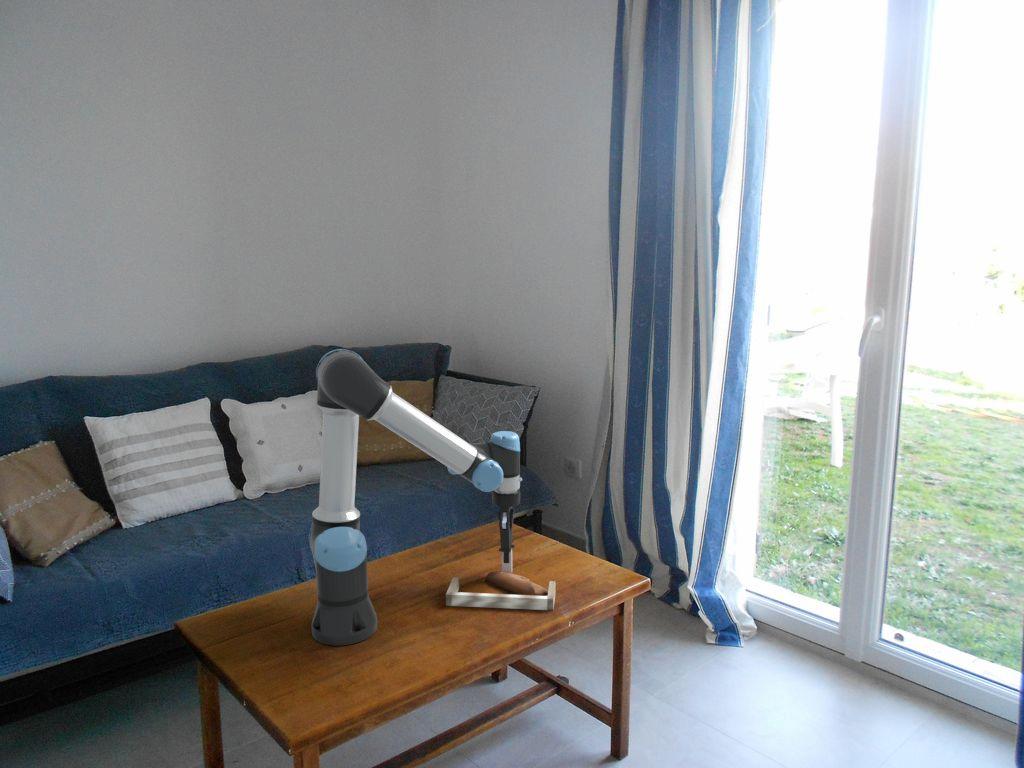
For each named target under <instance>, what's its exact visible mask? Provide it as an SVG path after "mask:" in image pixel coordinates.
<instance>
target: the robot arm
mask: <svg viewBox="0 0 1024 768" xmlns="http://www.w3.org/2000/svg"><path fill="white" fill-rule="evenodd" d="M315 376H316V380H317V397H316V407H318V408H319V409H320V410H321V411H322V430H321V448H320V449H321V450H320V452H321V453H320V456H321V457H320V475H319V476H320V477H319V494H318V495H319V496H318V498H319V499H318V507H316V508H315V509H314V510H313V511H312V514H311V527H310V531H309V533H308V542H309V547H310V550H311V554H312V557H313V562H314V566H315V567H314V568H315V575H316V576H315V577H316V591H317V593H316V594H317V602H316V603H317V604H316V607H315V611H314V615H313V618H312V620H311V621H312V622H311V636H312V637H313V639H314V640H315V641H316V642H318V643H320V644H323V645H328V646H339V647H340V646H341V647H342V646H349V645H353V644H358V643H360V642H363V641H365V640H367V639H368V638H370V637H372V636H373V635H374V633H375V632H376V631H377V629H378V617H377V613H376V611H375V608H374V605H373V603H372V601H371V599H370V596H369V578H368V561H367V560H368V559H367V553H368V552H367V551H368V545H367V542H366V537H365V536H364V535H365V534H363V533H362V531H360V526H361V525H360V524H361V523H360V520H361V512H360V511H359V510H358V509H357V507H355V501H356V500H355V497H356V483H357V482H356V480H357V461H358V446H359V445H358V443H359V426H360V417H361V418H363V419H365V420H366V421H373V420H374V421H376V422H378V423H379V424H380V425H382V426H384V427H385V428H387V429H388V430H390V431H391V432H393V434H394V433H395V434H396V435H398V436H399V437H401V438H402V439H404V440H405V441H407V442H408V443H410V444H412V445H413V446H415V447H416V448H418V449H420V451H423V452H424V453H425V454H426V455H428V456H430V457H432V458H434V459H435V460H436V461H438V462H440V463H441V464H443V465H444V466H445V467H446V468H447V471H448V473H449V474H451V475H459V476H461V477H462V478H464V479H465V480H467V481H468V482H470V484H471V483H472V484H473V486H474V487H475V488H476V489H478V490H479V491H481V492H483V493H484V492H485V493H490V492H491V501H492V505H493V506H496V507H499V511H498V513H497V514H498V516H497V517H498V519H499V521H498V526H499V540H500V548H498V552H501V572H506V573H512V574H513V549H515V546H516V544H513V543H514V540H513V529H514V526H513V524H514V516H515V508H514V507H516V506H518V505H520V503H521V490H520V487H521V482H522V481H523V478H522V477H521V475H520V474H521V470H520V469H521V466H520V465H521V442H520V437H519V435H518V433H516V432H515V431H510V430H509V431H508V430H502V431H501V430H500V431H497V432H493V433H492V434H491V435H490V441H485V442H476V443H475V442H474V443H469V442H467V441H466V440H464V439H463V438H461V437H460V436H458V435H457V434H456V433H454V432H452V431H451V430H450V429H448V428H446V427H445V426H443V425H442V424H441V423H439V422H438V421H436V420H435V419H433V418H432V417H430V416H429V415H427V414H426V413H425V412H423V411H421V410H420V409H418V408H417V407H416V406H414V405H412V404H411V403H410V402H408V401H406V400H405V399H404V398H402V397H401V396H399V395H397V394H396V393H395V392H394V391H393V387H392V386H391V384H389V383H388V382H386V381H385V380H383V378H381V377H380V376H379V375H378V374H377V373H376V372H375V371H374V370H373V369H372V368H371V367H370V366H369V364H367V362H366V361H364V359H363V357H361V356H360V354H358V353H356V352H355V351H353V350H350V349H349V350H348V349H345V348H340V349H339V348H338V349H334V350H330V351H329V352H327V353H326V354H324V355H323V356H322V357H321V359H320V360H319V362H318V364H317V366H316V369H315Z"/></svg>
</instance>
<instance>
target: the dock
mask: <svg viewBox="0 0 1024 768" xmlns="http://www.w3.org/2000/svg"><path fill="white" fill-rule="evenodd" d="M556 587H557V586H556V581H555V580H554V581H553V580H549V584H548V589H547V590H548V595H546V596H534V595H515V594H512V593H510V594H507V593H489V592H487V593H485V592H483V593H482V592H481V593H480V592H461V591H460V592H459V589H460V578H459V576H452V579H451V582H450V583H449V586H448V589H447V591H446V592H445V606H447V607H449V606H450V607H469V608H472V607H473V608H493V609H494V608H495V609H513V610H515V609H516V610H518V609H519V610H537V611H539V610H540V611H554V609H555V608H554V607H555V600H556V599H555V598H556Z"/></svg>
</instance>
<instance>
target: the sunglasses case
mask: <svg viewBox="0 0 1024 768" xmlns="http://www.w3.org/2000/svg"><path fill="white" fill-rule="evenodd" d="M484 581H485V583H487V584H489V585H491V586H493V587H497V588H499V589H501V590H504V591H506V592H509V593H510V594H512V595H534V596H548V590H549V589H548V588H547V589H546V588H544V587H543V586H541V585H539V584H537V583H535V582H533V581H531V580H530V578H527V577H525V576H522V575H520V574H516V573H513V572H512V573H506V572H502V571H491V572H488V573H487V574H486V576H485V580H484Z"/></svg>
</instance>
